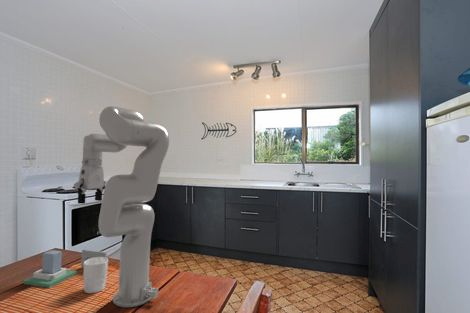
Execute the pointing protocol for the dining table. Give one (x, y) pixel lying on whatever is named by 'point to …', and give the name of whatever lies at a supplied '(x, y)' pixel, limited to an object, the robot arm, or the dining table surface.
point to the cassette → (91, 255)
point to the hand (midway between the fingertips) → (90, 201)
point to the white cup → (95, 274)
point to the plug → (51, 262)
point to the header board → (49, 278)
